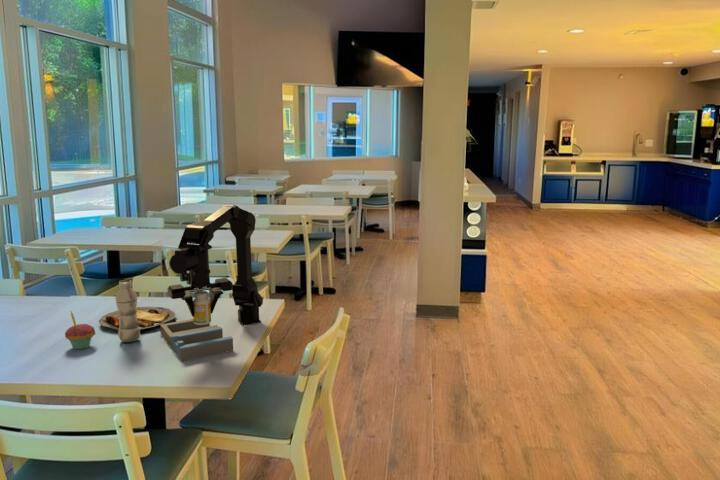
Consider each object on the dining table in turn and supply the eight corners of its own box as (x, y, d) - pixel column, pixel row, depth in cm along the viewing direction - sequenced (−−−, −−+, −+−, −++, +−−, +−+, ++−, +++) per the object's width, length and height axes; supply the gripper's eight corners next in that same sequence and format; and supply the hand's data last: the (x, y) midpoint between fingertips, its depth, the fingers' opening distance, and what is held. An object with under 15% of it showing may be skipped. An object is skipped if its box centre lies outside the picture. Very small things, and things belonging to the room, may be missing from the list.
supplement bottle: (200, 326, 179) (198, 296, 177) (190, 322, 183) (188, 293, 181) (215, 322, 183) (213, 292, 181) (204, 318, 187) (203, 289, 185)
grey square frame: (208, 326, 205) (207, 312, 204) (233, 350, 183) (232, 335, 182) (160, 334, 197) (159, 320, 196) (181, 361, 175) (180, 345, 174)
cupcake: (66, 353, 181) (63, 316, 179) (66, 344, 188) (62, 308, 186) (97, 348, 185) (93, 312, 182) (95, 339, 192) (92, 304, 190)
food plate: (85, 327, 203) (84, 317, 203) (134, 308, 225) (133, 299, 224) (142, 339, 194) (142, 329, 194) (187, 318, 215) (187, 309, 215)
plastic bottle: (133, 345, 187) (128, 284, 183) (114, 343, 189) (109, 283, 185) (144, 338, 194) (140, 279, 190) (126, 336, 195) (121, 278, 191)
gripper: (220, 256, 191) (223, 303, 194) (161, 264, 181) (165, 312, 185) (232, 264, 181) (234, 312, 185) (170, 272, 172) (174, 323, 175)
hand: (202, 314), depth 183 cm, fingers closed on supplement bottle, 5 cm apart
